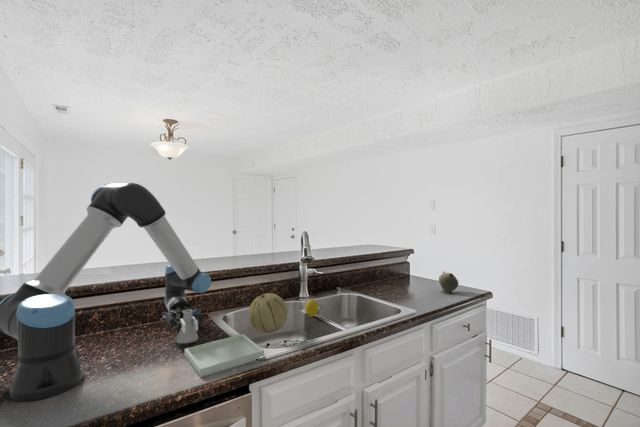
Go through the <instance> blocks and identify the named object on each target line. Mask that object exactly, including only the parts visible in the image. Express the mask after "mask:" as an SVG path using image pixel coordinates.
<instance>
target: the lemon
mask: <svg viewBox="0 0 640 427" xmlns="http://www.w3.org/2000/svg"><path fill="white" fill-rule="evenodd" d="M304 306H305V308H304V311H305V312H306V314H307V316H309V317H310V318H313V317H314V316H315V315H317V314H318V311H319V305H318V302H317V301H316V300H315V299H313V298H310V299H308V300H307V301H306V303H305V305H304Z"/></svg>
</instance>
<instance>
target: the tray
mask: <svg viewBox="0 0 640 427" xmlns="http://www.w3.org/2000/svg"><path fill="white" fill-rule="evenodd" d="M264 351H265V349H263V348H261V347H260V346H259V345H258V344H256V343H255V342H254V341H253V340H251V339H250V338H249V337H247V335H245V334H244V333H242V334H237V335H233V336H230V337H226V338H222V339H218V340H213V341H209V342H207V343H203V344H198V345H194V346H189V347H186V348H184V357H185V359H186V360H187V361H188V363H189V364H190V366H191V367H192V369H194V370H193V371H194V372H195V373H196V374H197V376H198V377H199V378H200V377H201V378H203V377H207V376H210V375H213V373H214V374H216V372H217V373H219V372H223V371H225V370H229V369H232V368H235V367H238V366H242V365H245V364H248V363H251V362H254V361H257V360H256V359H257V358H259V357H261V356H264V355H265V353H264ZM264 357H265V356H264Z"/></svg>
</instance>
